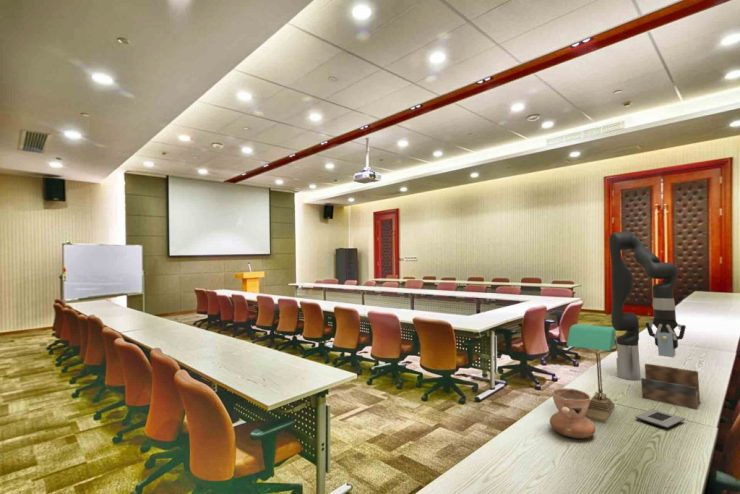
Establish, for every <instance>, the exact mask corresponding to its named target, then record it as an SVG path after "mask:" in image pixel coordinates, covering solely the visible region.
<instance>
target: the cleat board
mask: <svg viewBox="0 0 740 494" xmlns="http://www.w3.org/2000/svg"><path fill="white" fill-rule="evenodd" d="M644 373H645V377H642V378H641V377H640V378H641V379H640V382H641V395H642V399H645V400H649V401H654V402H659V403H664V404H670V405H673V406H678V407H684V408H687V409H694V410H697V409H699V408H698V407H699V405H700V404H701V398H700V396H701V395H700V384H699V382H700V381H699V380H700V379H699V371H697V370H691V369H685V368H677V367H673V366H672V367H671V366H665V365H659V364H650V363H645V364H644Z"/></svg>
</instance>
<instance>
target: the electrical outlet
mask: <svg viewBox="0 0 740 494" xmlns="http://www.w3.org/2000/svg"><path fill="white" fill-rule="evenodd" d="M634 418H635V419H637V420H639V421H643V422H645V423H649V424H652V425H655V426H658V427H661V428H664V429H668V428H670V427H672V426H674V425H677V424H679V423H681V422H683V421H685V420H686V418H685V417H683V416H682V417H681V416H680V415H679V416H678V415H675V414H671V413H669V412H665V411H661V410H659V409H655V408H652V409H649V410H646V411H644V412H642V413H639V414H637V415H634Z"/></svg>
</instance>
